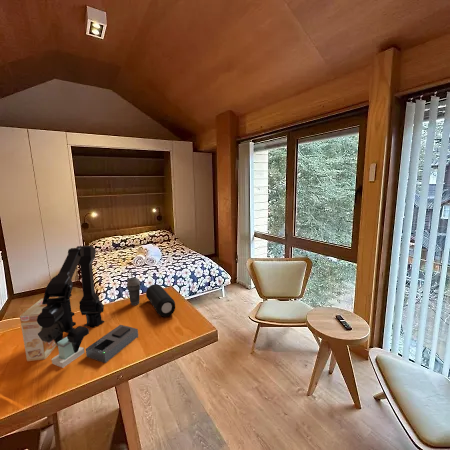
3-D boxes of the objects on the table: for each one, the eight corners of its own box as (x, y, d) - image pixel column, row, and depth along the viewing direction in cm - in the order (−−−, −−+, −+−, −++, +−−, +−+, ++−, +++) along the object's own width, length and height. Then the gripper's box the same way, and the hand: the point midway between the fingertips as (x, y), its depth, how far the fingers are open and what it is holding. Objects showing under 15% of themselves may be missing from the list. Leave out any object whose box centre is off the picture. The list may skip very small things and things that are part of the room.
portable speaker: (145, 301, 146) (144, 285, 145) (162, 296, 151) (161, 281, 150) (158, 321, 125) (157, 302, 123) (177, 315, 130) (176, 297, 128)
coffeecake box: (46, 360, 98) (38, 314, 95) (26, 362, 97) (18, 316, 94) (64, 337, 113) (58, 296, 109) (46, 339, 112) (40, 298, 108)
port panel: (86, 357, 99) (85, 347, 98) (121, 332, 115) (120, 323, 114) (105, 364, 95) (104, 353, 94) (138, 337, 112) (137, 327, 111)
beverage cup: (134, 307, 138) (131, 273, 135) (125, 304, 142) (122, 271, 139) (144, 302, 144) (141, 269, 141) (136, 299, 148) (133, 267, 145)
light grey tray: (52, 364, 95) (51, 359, 95) (74, 350, 104) (73, 344, 103) (63, 368, 93) (62, 362, 93) (84, 353, 101) (83, 348, 101)
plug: (59, 361, 97) (57, 342, 95) (71, 353, 101) (69, 335, 100) (65, 363, 95) (63, 344, 94) (77, 355, 100) (75, 336, 99)
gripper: (23, 318, 91) (30, 357, 94) (58, 329, 84) (64, 370, 87) (54, 305, 101) (59, 340, 104) (87, 313, 94) (92, 350, 97)
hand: (67, 349), depth 98 cm, fingers open, 9 cm apart
